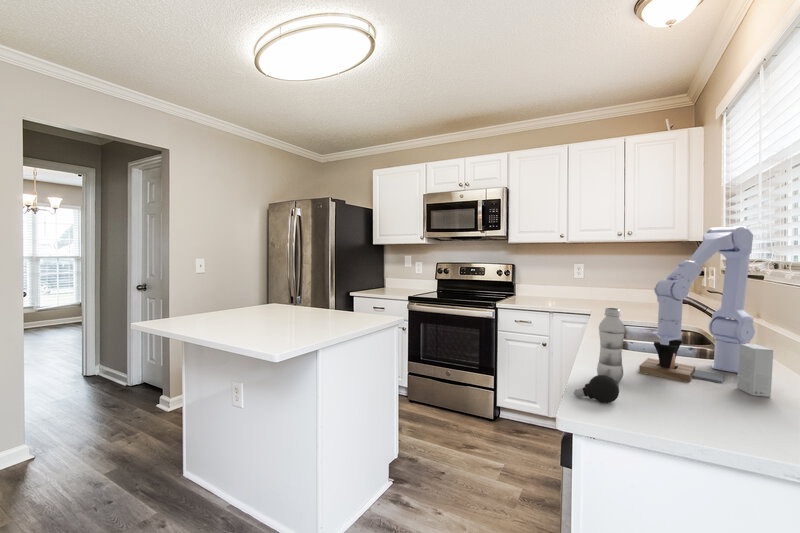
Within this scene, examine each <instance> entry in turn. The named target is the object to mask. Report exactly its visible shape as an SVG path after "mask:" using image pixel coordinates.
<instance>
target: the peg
mask: <svg viewBox="0 0 800 533" xmlns="http://www.w3.org/2000/svg"><path fill="white" fill-rule="evenodd" d="M675 363H676V359H675V353H674V354H673V357H672V361H671V365H670V369H675ZM660 367H661V366H660Z"/></svg>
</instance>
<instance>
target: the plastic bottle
mask: <svg viewBox="0 0 800 533" xmlns="http://www.w3.org/2000/svg"><path fill="white" fill-rule="evenodd" d="M604 316H605V317H604V318H603V319H602V320H601V322H600V323H599V326H598V332H599V333H598V335H599V346H600V347H599V350H600V351H599V358H598V363H597V366H596V373H597V375H606V376H609V377H611V378H612V379H614V380H615V381H616V383H618V382H620V381H622V379H623V377H624V367H623V356H622V355H623V354H622V352H623V342H624V339H625V338H624V336H625V333H626V328H625V325H624V323H623V321H622V320H621V319H620V317H621V309H620V308H615V307H605V308H604Z"/></svg>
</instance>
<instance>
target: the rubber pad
mask: <svg viewBox="0 0 800 533" xmlns="http://www.w3.org/2000/svg"><path fill="white" fill-rule="evenodd" d="M724 376H725V375H724V374H723V373H722V374H721V373H716V372H711V371H706V370H701V369H697V368H695V372H694V373H693V375H692V378H693V379H697V380H703V381H709V382H714V383H720V384H722V383H723V380H724Z"/></svg>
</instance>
